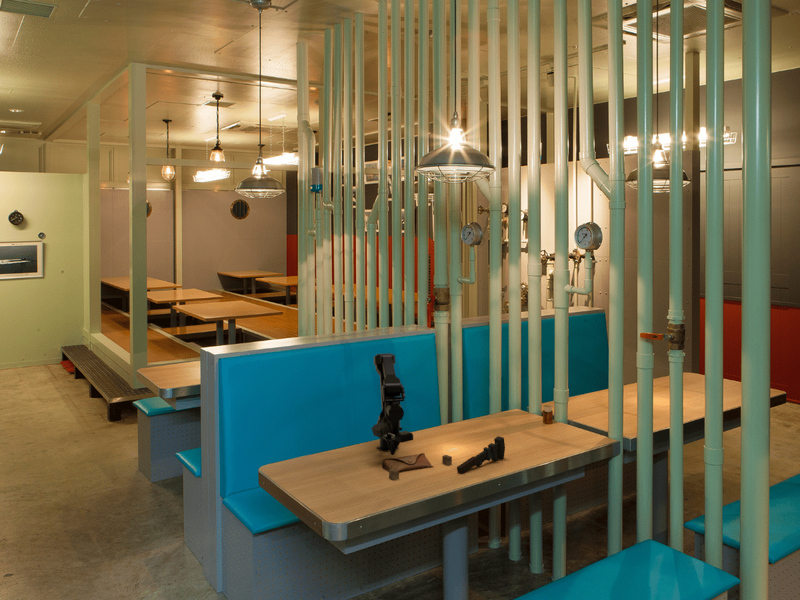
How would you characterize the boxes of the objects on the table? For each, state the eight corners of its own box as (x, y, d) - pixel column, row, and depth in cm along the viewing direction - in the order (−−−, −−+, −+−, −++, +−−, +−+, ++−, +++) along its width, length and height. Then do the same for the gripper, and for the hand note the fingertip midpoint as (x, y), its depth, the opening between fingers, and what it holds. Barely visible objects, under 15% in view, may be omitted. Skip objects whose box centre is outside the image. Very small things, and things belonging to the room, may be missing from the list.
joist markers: (389, 478, 228) (389, 469, 228) (446, 462, 245) (446, 454, 245) (394, 480, 226) (394, 472, 226) (451, 464, 243) (451, 456, 242)
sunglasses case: (391, 474, 232) (387, 456, 234) (384, 479, 237) (380, 461, 240) (435, 466, 240) (431, 449, 243) (427, 471, 246) (423, 454, 248)
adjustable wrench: (458, 484, 235) (500, 456, 252) (464, 486, 233) (506, 457, 250) (455, 463, 233) (498, 436, 250) (461, 465, 231) (503, 437, 248)
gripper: (360, 412, 249) (361, 452, 250) (390, 422, 234) (390, 465, 236) (384, 408, 256) (384, 447, 257) (414, 417, 241) (414, 459, 242)
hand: (392, 454), depth 248 cm, fingers closed
